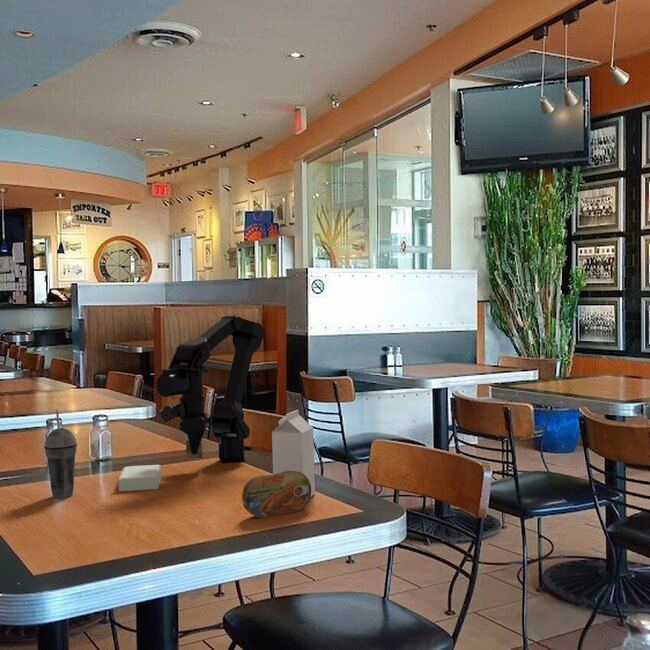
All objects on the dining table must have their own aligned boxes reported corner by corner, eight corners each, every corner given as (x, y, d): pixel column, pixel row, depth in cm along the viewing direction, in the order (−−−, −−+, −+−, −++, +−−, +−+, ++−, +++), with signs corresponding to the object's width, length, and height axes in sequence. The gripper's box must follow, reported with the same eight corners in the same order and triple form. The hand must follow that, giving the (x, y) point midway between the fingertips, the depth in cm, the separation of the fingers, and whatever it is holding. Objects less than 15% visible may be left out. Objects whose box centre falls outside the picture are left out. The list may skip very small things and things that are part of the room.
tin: (247, 521, 161) (245, 479, 161) (240, 517, 164) (239, 476, 163) (312, 509, 168) (311, 469, 168) (305, 506, 171) (304, 466, 171)
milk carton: (315, 494, 181) (312, 409, 180) (304, 502, 174) (301, 414, 173) (285, 492, 183) (283, 409, 182) (273, 500, 176) (271, 413, 176)
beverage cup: (84, 491, 189) (80, 406, 188) (71, 499, 182) (67, 411, 181) (54, 492, 190) (50, 407, 189) (40, 499, 182) (36, 411, 182)
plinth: (161, 475, 204) (160, 464, 204) (158, 488, 190) (157, 476, 190) (124, 478, 202) (124, 466, 202) (118, 491, 189) (118, 478, 188)
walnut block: (202, 454, 210) (201, 439, 210) (202, 457, 206) (201, 442, 206) (186, 455, 209) (186, 440, 209) (186, 458, 205) (186, 443, 205)
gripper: (162, 389, 215) (164, 447, 216) (158, 398, 197) (160, 461, 197) (204, 387, 217) (206, 445, 217) (204, 396, 198) (206, 459, 199)
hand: (194, 452), depth 208 cm, fingers closed on walnut block, 4 cm apart
